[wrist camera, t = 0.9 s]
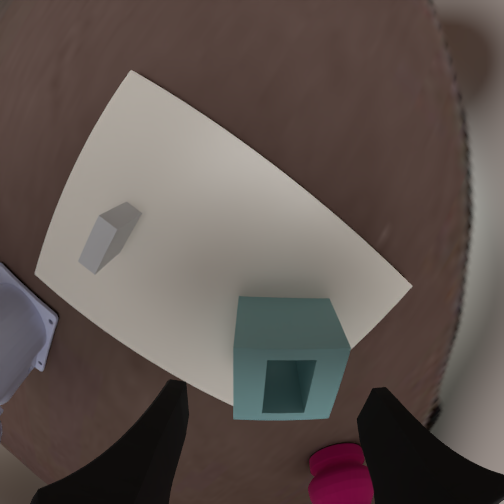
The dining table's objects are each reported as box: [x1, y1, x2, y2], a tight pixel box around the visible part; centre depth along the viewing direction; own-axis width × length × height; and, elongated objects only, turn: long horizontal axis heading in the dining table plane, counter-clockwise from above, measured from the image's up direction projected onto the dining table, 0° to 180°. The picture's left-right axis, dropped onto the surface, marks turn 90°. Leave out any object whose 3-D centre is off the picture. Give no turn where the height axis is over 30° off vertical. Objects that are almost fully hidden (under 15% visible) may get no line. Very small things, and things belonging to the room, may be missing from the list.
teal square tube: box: [233, 296, 351, 420], centre depth 16 cm, size 6×6×5 cm
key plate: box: [35, 70, 412, 406], centre depth 16 cm, size 16×22×5 cm
